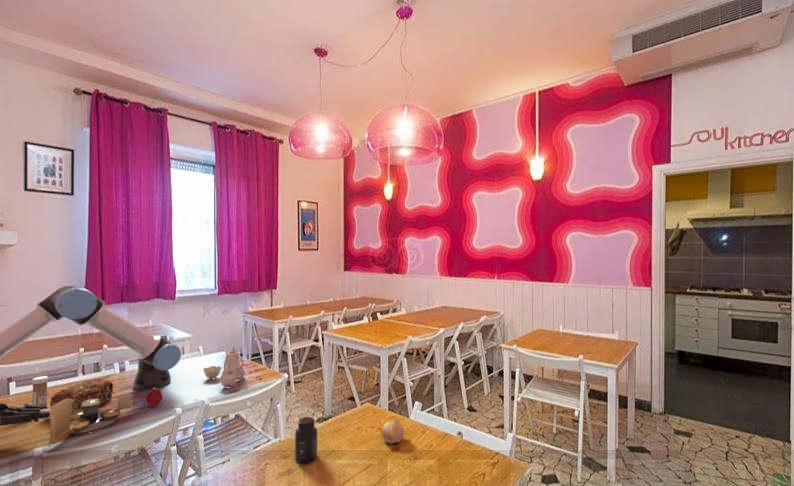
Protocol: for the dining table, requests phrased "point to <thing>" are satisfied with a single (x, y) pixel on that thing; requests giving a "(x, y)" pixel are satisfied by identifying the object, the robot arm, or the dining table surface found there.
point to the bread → (85, 392)
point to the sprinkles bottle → (39, 391)
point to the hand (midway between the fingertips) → (61, 413)
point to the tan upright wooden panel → (63, 422)
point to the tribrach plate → (98, 414)
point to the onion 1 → (154, 397)
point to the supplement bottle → (306, 441)
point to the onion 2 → (392, 432)
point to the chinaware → (228, 369)
